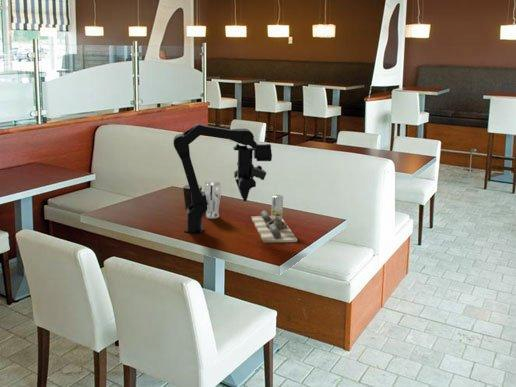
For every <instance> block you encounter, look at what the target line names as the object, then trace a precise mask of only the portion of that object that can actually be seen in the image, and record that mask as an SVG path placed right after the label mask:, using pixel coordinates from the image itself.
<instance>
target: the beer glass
mask: <svg viewBox="0 0 516 387" xmlns="http://www.w3.org/2000/svg"><path fill="white" fill-rule="evenodd" d="M221 187H222V186H221V182H218V181H207V182H205V184H204V191H205V194H206V199H207V200H208V204H209V205H207V211H206V212H205V215H204V216H205V218H206V219H209V220H210V219H211V220H216V219H219V218H220V212H219V208H220V207H219V206H220V202H221V193H222V190H221Z"/></svg>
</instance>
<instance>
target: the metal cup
mask: <svg viewBox="0 0 516 387" xmlns="http://www.w3.org/2000/svg"><path fill="white" fill-rule="evenodd" d="M283 208H284V196H283V195H279V194H274V195H272V196H271V208H270V211H271V212H270V214H271V215H270V216H271V224H274V225H275V226H282V219H283V214H284V209H283Z"/></svg>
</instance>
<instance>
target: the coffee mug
mask: <svg viewBox="0 0 516 387" xmlns="http://www.w3.org/2000/svg"><path fill="white" fill-rule="evenodd" d="M198 185H199V189H200V190H201V192H203V191H202V189H203V185H201V184H198ZM182 189H183V198H184V199H183V200H184V206H185V207H184V208H185V209H186V210H187V208H188V207H189V206H190V205H191V204H192V197H191V191H190V187H189V184H184V185H183V186H182Z"/></svg>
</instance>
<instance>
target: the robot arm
mask: <svg viewBox="0 0 516 387" xmlns="http://www.w3.org/2000/svg"><path fill="white" fill-rule="evenodd" d="M200 136H206V137H211V138H216V139H217V138H218V139H223V140H224V139H225V140H230V141H231V142H236V144H235V146H233V148H232V149H233V150H234V151H237V162H236V165H237V169H236V170H235V171H234V172H233V173H234V174H233V177H234V178H235V182H236V185H237V189H238V190H239V191H238V192H239V194H240V197H241V198H242V200H243V202H247V201H248V197H249V193H250V190H251V189H252V188H256V186H257V185H256V184H257V182H256V180H255V179H254V177H255V178H257V179H259V180H261V181H264V180H265V178H266V176H267V172H266V170H265V169H263V167H262V166H261V165H256V166H254V163H253V160H254V159H255V161H256V162H272V158H273V153H272V144H270V143H267V144H266V143H265V144H262V143H261V144H258V142H256V141H255V140H254V139H255V135H254V133H253V132H252V131H251V130H250V129H249V128H232V129H231V128H225V127H224V128H223V127H217V126H211V125H205V124H202V123H197V124H194V125H193V126H192V127H191V128H189V129H187V130H186V131H184V132H183V133H178V134H176V135H175V136H174V137H173V139H172V140H173V143H172V144H173V147H174V148H175V149H174V150H175V151H176V154H177V155H178V156H179V159H180V161H181V164H182V167H183V170H184V174H185V176H186V177H185V178H186V180H187V183H188V184H189V187H190V191H191V197H192V204H191V205H190V206H189V207H188V208H187V209H186V212H187V224H186V225H187V228H185V229H184V231H183V232H184V233H190V234H199V235H200V233H202V232H203V231H204V230H205V227H203V224H202V222H203V219H202V217H203V215H204V214H206V211H207V205H209V204H208V200H207V199H206V194H205V190H204V191H201V190H200V189H199V185H200V184H199V183H198V180H197V176H196V173H195V168H194V165H193V163H192V159H191V158H192V157H191V152H190V144H191V143H193V142H194V141H195V140H196V139H197V138H199V137H200ZM248 146H249V147H248ZM188 184H187V185H188Z"/></svg>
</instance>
